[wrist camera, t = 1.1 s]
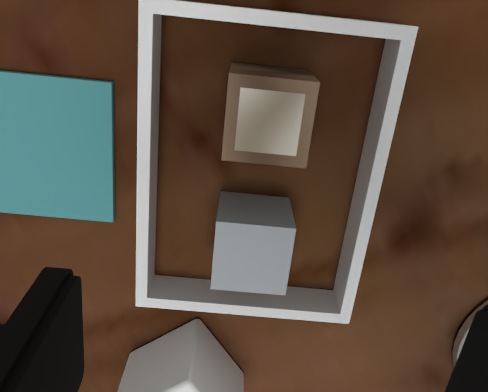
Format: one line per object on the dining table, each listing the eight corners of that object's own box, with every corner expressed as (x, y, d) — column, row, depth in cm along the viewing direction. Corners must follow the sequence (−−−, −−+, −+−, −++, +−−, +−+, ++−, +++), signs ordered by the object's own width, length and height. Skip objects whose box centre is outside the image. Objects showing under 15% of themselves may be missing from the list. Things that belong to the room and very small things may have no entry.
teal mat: (113, 81, 30) (111, 82, 29) (115, 219, 34) (113, 222, 33) (-44, 65, 30) (-48, 66, 29) (-24, 206, 33) (-28, 209, 33)
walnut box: (308, 69, 30) (320, 82, 25) (297, 143, 32) (306, 168, 27) (231, 61, 30) (228, 73, 25) (224, 136, 32) (221, 160, 27)
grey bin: (401, 24, 29) (418, 26, 26) (341, 299, 37) (349, 323, 34) (149, -4, 28) (138, -4, 25) (143, 282, 36) (135, 306, 33)
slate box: (289, 197, 33) (296, 228, 29) (280, 256, 35) (285, 295, 31) (220, 190, 33) (216, 221, 28) (214, 251, 35) (210, 289, 30)
